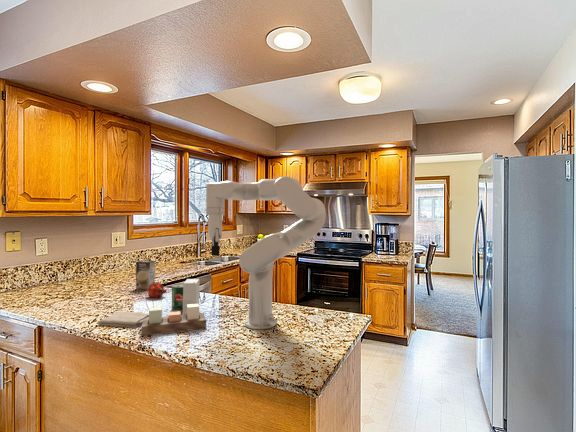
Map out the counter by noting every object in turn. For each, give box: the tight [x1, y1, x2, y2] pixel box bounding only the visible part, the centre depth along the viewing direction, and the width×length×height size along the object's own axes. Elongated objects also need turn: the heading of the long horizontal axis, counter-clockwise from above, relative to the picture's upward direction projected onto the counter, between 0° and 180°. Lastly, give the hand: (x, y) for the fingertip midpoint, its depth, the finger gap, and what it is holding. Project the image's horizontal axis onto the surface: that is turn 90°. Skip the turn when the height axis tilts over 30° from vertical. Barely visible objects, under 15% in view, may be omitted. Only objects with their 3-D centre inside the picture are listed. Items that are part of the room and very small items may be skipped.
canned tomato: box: [171, 283, 183, 312], centre depth 155 cm, size 8×8×11 cm
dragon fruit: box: [146, 281, 167, 299], centre depth 176 cm, size 8×8×12 cm
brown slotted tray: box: [141, 312, 207, 336], centre depth 129 cm, size 23×10×3 cm, turn 110°
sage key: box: [148, 306, 163, 324], centre depth 127 cm, size 4×4×5 cm
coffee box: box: [135, 259, 156, 290], centre depth 197 cm, size 9×6×16 cm
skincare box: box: [182, 278, 201, 315], centre depth 147 cm, size 8×6×15 cm
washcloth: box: [97, 310, 149, 328], centre depth 136 cm, size 12×18×3 cm, turn 82°
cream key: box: [187, 303, 200, 320], centre depth 132 cm, size 4×4×5 cm
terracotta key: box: [168, 311, 182, 322], centre depth 129 cm, size 4×4×5 cm
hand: (215, 255), depth 139 cm, fingers closed
